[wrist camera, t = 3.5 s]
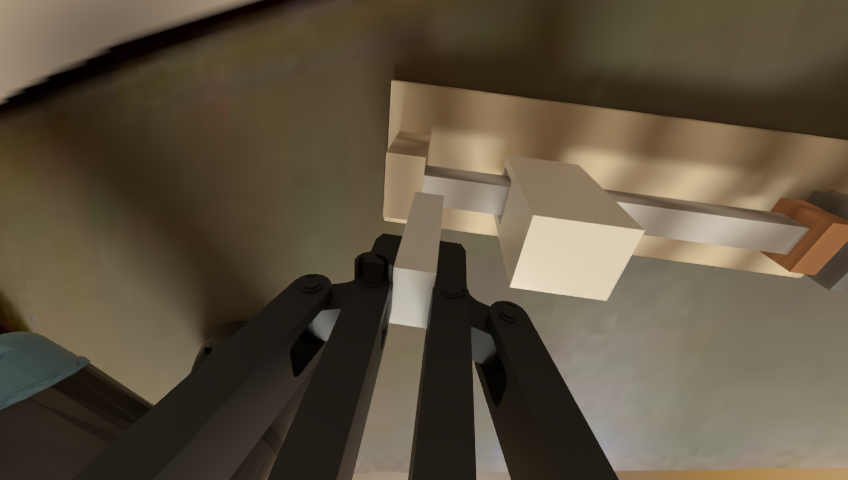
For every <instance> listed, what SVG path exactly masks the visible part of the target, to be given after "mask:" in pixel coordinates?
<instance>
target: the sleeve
mask: <svg viewBox="0 0 848 480" xmlns="http://www.w3.org/2000/svg"><path fill="white" fill-rule="evenodd" d="M501 175H503V176H509V177H510V180H511V182H512V183H511V186H510V190H509V194H508V197H507V201H506V205H505V209H504V212H503V216H502V215H495V214H494V219H495V223H496V228H497V232H498V237H499V241H500V246H501V250H502V255H503V259H504V264H505V268H506V273H507V277H508V282H509V286H510V287H512V288H519V289H526V290H533V291H540V292H547V293H554V294H561V295H569V296H576V297H583V298H590V299H597V300H604V301H607V299H608V297H609V296H610V294H611V292H612V290H613V288H614V286H615V285H616V283H617V281H618V279H619V277H620V275H621V274H622V272H623V270H624V268H625V266H626V265H627V263H628V261H629V259H630V257H631V255H632V254H633V252H634V250H635V248H636V246H637V244H638V243H639V241H640V239H641V237H642V235H643V234H644V232H645V230H644V229H643V228H642V227H641V226H640V225H639V224H638V223H637V222H636V221H635V220H634V219H633V218H632V217H631V216H630V215H629V214H628V213H627V212H626V211H625V210H624V209H623V208H622V207H621V206H620V205H619V204H618V203H617V202H616V201H615V200H614V199H613V198H612V197H611V196H610V195H609V194H608V193H607V192H606V191H605V190H604V189H603V188H602V187H601V186H600V185H599V184H598V183H597V182H596V181H595V180H594V179H593V178H592V177H591V176H590V175H589V174H588V173H587V172H586V171H585V170H584V169H583V168H582V167H581V166H580V165H578V164H570V163H563V162H555V161H548V160H541V159H533V158H526V157H519V156H511V155H506V157H505V161H504V165H503V169H502V173H501Z"/></svg>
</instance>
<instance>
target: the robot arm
mask: <svg viewBox="0 0 848 480" xmlns="http://www.w3.org/2000/svg"><path fill="white" fill-rule="evenodd" d="M443 203H444V196H443V195H436V194H429V193H422V192H415V195H414V199H413V202H412V205H411V209H410V212H409V216H408V219H407V223H406V226H405V229H404V233H403V236H397V235H390V234H382V235H381V236H379V237H378V238H377V239H376V241H375V243H374V245H373V248H372V250H371V252H366V253H362V254H361V255H359V256H357V258H356V259H355V279H354V280H353V281H350V282H347V283H340V284H331V282H330V280H329V279H328V278H327V277H325V276H323V275H319V274H308V275H305V276H302V277H300V278H298V279H296V280H295V281H294V282H293V283H292V284H290V285H289V286H288V287H287V288H286V289H285V290H284V291H283V292H281V293H280V294H279V295H278V296H277V297H276V298H275V299H274V300H272V301H271V302H270V303H269V304H268V305H267V306H266V307H265V308H263V309H262V310H261V311H260V312H259V313H258V314H257V315H256V316H254V317H253V318H252V319H251V320H250V321H249V322H237V323H231V324H228V325H225V326H222V327H220V328H219V329H217V330H216V331H215V332H214V333H213V334H212V335H211V336H210V337H209V339H208V340H207V341H206V342H205V343H204V345H203V346H202V347H201V349H200V350H199V352H198V354H197V357H196V359H195V362H194V365H193V367H192V370H191V373H190V374H189V375H188V376H187V377H186V378H185V379H184V380H183V381H181V382H180V383H179V384H178V385H177V386H176V387H175V388H174V389H172V390H171V391H170V392H169V393H168V394H167V395H166V396H165V397H163V398H162V399H161V400H160V401H159V402H158V403H157V404H156V405H153V404H151V403H150V402H148V401H147V400H145V399H143V398H142V397H140V396H139V395H137V394H136V393H134V392H133V391H131V390H130V389H128V388H127V387H125V386H124V385H122V384H121V383H119V382H118V381H116V380H115V379H113V378H112V377H110V376H109V375H107V374H106V373H104V372H103V371H101V370H100V369H98V368H97V367H95V366H93V365H92V364H90V363H89V362H90V360H88V359H87V358H86V357H83V356H77V355H75V354H73V353H72V352H70V351H68V350H67V349H65V348H63V347H61V346H60V345H58V344H56V343H55V342H53V341H51V340H49V339H48V338H46V337H44V336H42V335H40V334H36V333H32V332H12V333H6V334H1V335H0V480H352V477H353V473H354V469H355V465H356V460H357V456H358V452H359V448H360V444H361V440H362V436H363V432H364V428H365V423H366V419H367V415H368V411H369V407H370V403H371V399H372V395H373V390H374V386H375V382H376V378H377V374H378V370H379V366H380V362H381V358H382V353H383V349H384V345H385V341H386V337H387V331H388V322H389V323H394V324H401V325H408V326H414V327H421V328H427V330H426V336H425V342H424V348H423V360H422V369H421V377H420V385H419V394H418V402H417V410H416V419H415V427H414V435H413V444H412V452H411V461H410V469H409V478H408V480H476V457H475V429H474V400H473V372H472V360H473V361H475V366H476V370H477V373H478V376H479V379H480V382H481V385H482V389H483V392H484V395H485V398H486V401H487V404H488V408H489V411H490V414H491V417H492V420H493V424H494V427H495V430H496V433H497V436H498V439H499V443H500V446H501V449H502V452H503V455H504V458H505V462H506V465H507V468H508V471H509V474H510V477H511V480H619V479H618V478H617V476H616V474H615V472H614V470H613V468H612V467H611V465H610V463H609V461H608V459H607V458H606V456H605V454H604V452H603V450H602V449H601V447H600V445H599V443H598V441H597V440H596V438H595V436H594V434H593V432H592V430H591V429H590V427H589V425H588V423H587V421H586V420H585V418H584V416H583V414H582V412H581V411H580V409H579V407H578V405H577V403H576V402H575V400H574V398H573V396H572V394H571V393H570V391H569V389H568V387H567V385H566V383H565V382H564V380H563V378H562V376H561V374H560V373H559V371H558V369H557V367H556V365H555V364H554V362H553V360H552V358H551V356H550V355H549V353H548V351H547V349H546V347H545V345H544V344H543V342H542V340H541V338H540V336H539V335H538V333H537V331H536V329H535V327H534V326H533V324H532V322H531V320H530V318H529V317H528V315H527V313H526V312H525V311H524V310H523V308H521V307H520V306H518V305H517V304H514V303H512V302H508V301H498V302H495V303H494V304H492V305H491V307H490V306H488V305H485V304H483V303H481V302H478V301H477V300H475V299H474V298H473V297H472V296H471V295H470V294H469V291H468V289H467V284H466V251H465V249H464V248H463V246H462V245H461V244H458V243H451V242H444V241H440V233H441V223H442V213H443ZM389 318H390V320H389Z"/></svg>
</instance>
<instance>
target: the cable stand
mask: <svg viewBox="0 0 848 480" xmlns="http://www.w3.org/2000/svg"><path fill="white" fill-rule="evenodd" d="M506 155H511V156H519V157H526V158H533V159H541V160H548V161H555V162H563V163H570V164H578V165H580V166H581V167H582V168H583V169H584V170H585V171H586V172H587V173H588V174H589V175H590V176H591V177H592V178H593V179H594V180H595V181H596V182H597V183H598V184H599V185H600V186H601V187H602V188H603V189H604V190H605V191H606V192H607V193H608V194H609V195H610V196H611V197H612V198H613V199H614V200H615V201H616V202H617V203H618V204H619V205H620V206H621V207H622V208H623V209H624V210H625V211H626V212H627V213H628V214H629V215H630V216H631V217H632V218H633V219H634V220H635V221H636V222H637V223H638V224H639V225H640V226H641V227H642V228H643V229H644V230H645V232H644V234H643V235H642V237H641V239H640V241H639V243H638V244H637V246H636V248H635V250H634V252H633V254H632V255H637V256H645V257H652V258H659V259H666V260H673V261H681V262H688V263H695V264H702V265H710V266H717V267H724V268H731V269H739V270H746V271H753V272H760V273H767V274H775V275H782V276H789V277H796V278H801V277H802V276H803V275H804V274H805V275H807V276H808V277H810V278H811V279H813V280H814V281H816V282H817V283H819V284H820V285H822V286H823V287H825V288H826V289H828V290H830V291H837V292H844V293H848V140H844V139H836V138H829V137H821V136H814V135H806V134H799V133H791V132H783V131H776V130H768V129H761V128H753V127H746V126H738V125H731V124H723V123H716V122H708V121H701V120H693V119H686V118H678V117H671V116H663V115H656V114H648V113H641V112H633V111H626V110H618V109H611V108H603V107H596V106H588V105H580V104H573V103H565V102H558V101H550V100H543V99H535V98H528V97H520V96H513V95H505V94H498V93H490V92H483V91H475V90H468V89H460V88H453V87H445V86H438V85H430V84H423V83H415V82H408V81H400V80H392V81H391V98H390V117H389V136H388V150H387V152H386V168H385V188H384V208H383V217H384V221H391V222H399V223H407V219H408V216H409V212H410V209H411V205H412V202H413V199H414V195H415V192H422V193H429V194H436V195H443V196H444V203H443V213H442V223H441V228H442V229H449V230H456V231H464V232H471V233H478V234H485V235H493V236H498V232H497V228H496V223H495V219H494V214H495V215H502V216H503V212H504V209H505V205H506V201H507V197H508V194H509V190H510V186H511V183H512V182H511V180H510V177H509V176H503V175H501V173H502V169H503V165H504V161H505V157H506Z"/></svg>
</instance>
